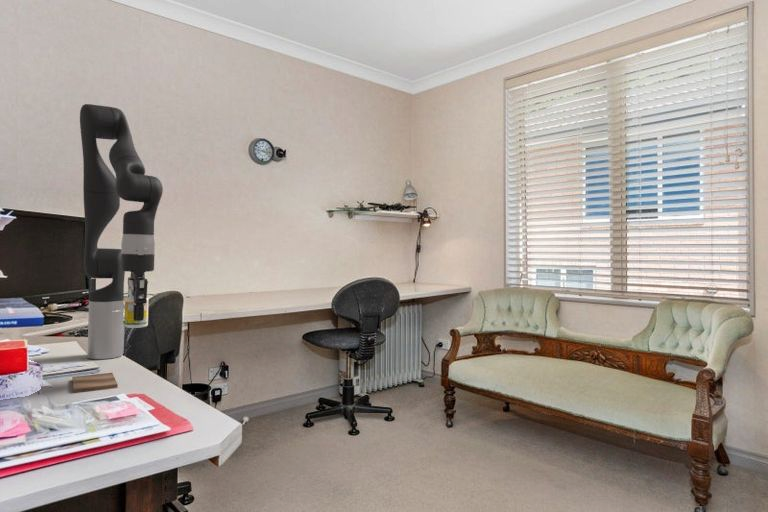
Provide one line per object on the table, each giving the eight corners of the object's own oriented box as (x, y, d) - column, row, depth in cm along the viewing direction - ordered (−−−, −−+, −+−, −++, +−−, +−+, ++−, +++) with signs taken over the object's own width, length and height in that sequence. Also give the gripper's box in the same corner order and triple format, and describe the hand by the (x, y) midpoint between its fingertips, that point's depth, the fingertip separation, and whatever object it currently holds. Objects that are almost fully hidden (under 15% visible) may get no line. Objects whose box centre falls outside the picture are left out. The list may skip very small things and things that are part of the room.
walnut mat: (72, 380, 116) (72, 376, 116) (112, 375, 121) (112, 372, 121) (73, 392, 105) (73, 389, 105) (117, 387, 110) (117, 384, 110)
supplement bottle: (142, 328, 116) (143, 289, 116) (120, 328, 116) (121, 289, 116) (151, 325, 122) (152, 288, 122) (130, 324, 121) (130, 288, 121)
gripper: (117, 252, 122) (115, 316, 122) (125, 252, 111) (123, 323, 111) (149, 252, 127) (147, 315, 127) (159, 253, 115) (158, 321, 115)
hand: (136, 318), depth 119 cm, fingers closed on supplement bottle, 5 cm apart
